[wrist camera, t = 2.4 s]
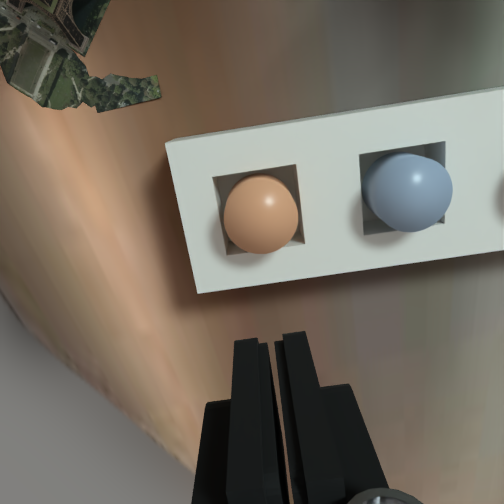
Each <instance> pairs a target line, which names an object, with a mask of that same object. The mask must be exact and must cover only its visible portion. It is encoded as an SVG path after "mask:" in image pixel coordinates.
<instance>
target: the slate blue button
mask: <svg viewBox="0 0 504 504" xmlns="http://www.w3.org/2000/svg"><path fill="white" fill-rule="evenodd" d="M452 193H453V186H452V181H451V178H450V175H449V173H448V172H447V170H446V169H445V168H444V167H443V166H442V165H441V164H440V163H438V162H436V161H434V160H432V159H429V158H425V157H422V156H418V155H414V154H411V153H407V152H392V153H388V154H386V155H384V156H382V157H380V158H378V159H377V160H376V161H375V162H374V163H373V164H372V165H371V166H370V167H369V168H368V170H367V172H366V173H365V176H364V178H363V182H362V196H363V200H364V202H365V204H366V206H367V207H368V208H369V210H371V211H372V212H373V213H374V214H375V215H376V216H378V217H379V218H380V219H381V220H382V221H384V222H385V223H386V224H387V225H388V226H390V227H391V228H393V229H395V230H398V231H401V232H417V231H421V230H424V229H426V228H429V227H430V226H432V225H434V224H435V223H436V222H437V221H439V220H440V219H441V218H442V216H443V215H444V214H445V212H446V211H447V209H448V207H449V205H450V202H451V199H452Z"/></svg>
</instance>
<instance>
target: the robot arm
mask: <svg viewBox="0 0 504 504" xmlns="http://www.w3.org/2000/svg"><path fill="white" fill-rule="evenodd" d="M282 335H283V340H281V341H274V344H275V352H276V361H277V369H278V378H279V386H280V395H281V403H282V412H283V421H284V429H285V438H286V446H287V455H288V463H289V472H290V479H291V486H292V493H293V500H294V504H423V503H421V502H420V501H419V500H417V499H416V498H415V497H413V496H411V495H409V494H407V493H404V492H402V491H399V490H395V489H389V486H388V484H387V481H386V478H385V476H384V473H383V470H382V468H381V465H380V462H379V460H378V457H377V454H376V452H375V449H374V447H373V444H372V441H371V439H370V436H369V433H368V431H367V428H366V425H365V423H364V420H363V417H362V415H361V412H360V409H359V407H358V404H357V401H356V399H355V396H354V393H353V391H352V388H351V386H350V385H349V384H341V385H334V386H326V387H320V385H319V382H318V378H317V374H316V370H315V366H314V363H313V359H312V355H311V351H310V347H309V344H308V340H307V336H306V332H305V331H301V332H294V333H287V334H282ZM191 504H290V502H289V493H288V483H287V474H286V465H285V455H284V446H283V439H282V432H281V425H280V419H279V413H278V407H277V400H276V394H275V388H274V382H273V375H272V369H271V363H270V357H269V350H268V345H267V343H260V344H259V342H258V338H251V339H243V340H236V341H234V356H233V374H232V391H231V399H228V400H220V401H213V402H207V404H206V407H205V412H204V419H203V426H202V433H201V440H200V447H199V454H198V461H197V468H196V475H195V482H194V489H193V496H192V503H191Z"/></svg>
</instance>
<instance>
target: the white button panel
mask: <svg viewBox="0 0 504 504" xmlns="http://www.w3.org/2000/svg"><path fill="white" fill-rule="evenodd" d="M165 146H166V151H167V155H168V160H169V164H170V169H171V174H172V178H173V183H174V187H175V192H176V197H177V201H178V206H179V210H180V215H181V220H182V224H183V229H184V233H185V238H186V242H187V247H188V252H189V256H190V261H191V265H192V270H193V275H194V279H195V284H196V288H197V293H198V294H199V293H206V292H213V291H220V290H227V289H234V288H241V287H248V286H255V285H262V284H269V283H276V282H283V281H290V280H297V279H304V278H311V277H318V276H325V275H332V274H339V273H346V272H353V271H360V270H367V269H374V268H381V267H388V266H395V265H402V264H409V263H416V262H423V261H430V260H437V259H444V258H451V257H458V256H465V255H472V254H479V253H486V252H493V251H500V250H504V86H503V87H496V88H490V89H484V90H477V91H471V92H465V93H459V94H452V95H446V96H440V97H433V98H427V99H421V100H415V101H408V102H402V103H396V104H389V105H383V106H377V107H371V108H364V109H358V110H352V111H345V112H339V113H333V114H327V115H320V116H314V117H308V118H301V119H295V120H289V121H283V122H276V123H270V124H264V125H257V126H251V127H245V128H239V129H232V130H226V131H220V132H213V133H207V134H201V135H195V136H188V137H182V138H176V139H174V140H171V141H169V142H166V143H165ZM392 152H407V153H411V154H414V155H418V156H422V157H425V158H429V159H432V160H434V161H436V162H438V163H440V164H441V165H442V166H443V167H444V168H445V169H446V170H447V172H448V173H449V175H450V178H451V181H452V186H453V193H452V199H451V202H450V205H449V207H448V209H447V211H446V212H445V214H444V215H443V216H442V218H441V219H440V220H439V221H437V222H436V223H435V224H434V225H432V226H430V227H429V228H426V229H424V230H421V231H417V232H401V231H398V230H395V229H393V228H391V227H390V226H388V225H387V224H386V223H385V222H384V221H382V220H381V219H380V218H379V217H378V216H376V215H375V214H374V213H373V212H372V211H371V210H369V208H368V207H367V206H366V204H365V202H364V200H363V196H362V182H363V178H364V176H365V173H366V172H367V170H368V168H369V167H370V166H371V165H372V164H373V163H374V162H375V161H376V160H377V159H378V158H380V157H382V156H384V155H386V154H388V153H392ZM255 173H264V174H269V175H272V176H274V177H276V178H278V179H279V180H281V181H282V182H283V183H284V184H285V185H286V187H287V188H288V190H289V192H290V194H291V196H292V198H293V200H294V202H295V204H296V206H297V210H298V225H297V229H296V231H295V233H294V235H293V237H292V238H291V240H290V241H289V242H288V243H287V244H286V245H285V246H284V247H282V248H281V249H279V250H277V251H274V252H271V253H267V254H254V253H250V252H247V251H245V250H243V249H241V248H239V247H238V246H237V245H235V244H234V243H233V242H232V240H231V239H230V238H229V236H228V234H227V232H226V229H225V226H224V211H225V206H226V202H227V198H228V194H229V192H230V190H231V189H232V187H233V186H234V185H235V183H237V182H238V181H239V180H240V179H242V178H243V177H245V176H248V175H250V174H255Z"/></svg>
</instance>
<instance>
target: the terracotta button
mask: <svg viewBox="0 0 504 504" xmlns="http://www.w3.org/2000/svg"><path fill="white" fill-rule="evenodd" d="M297 225H298V210H297V206H296V204H295V202H294V200H293V198H292V196H291V194H290V192H289V190H288V188H287V187H286V185H285V184H284V183H283V182H282V181H281V180H279V179H278V178H276V177H274V176H272V175H269V174H264V173H255V174H250V175H248V176H245V177H243V178H242V179H240V180H239V181H238V182H237V183H235V185H234V186H233V187H232V189H231V190H230V192H229V194H228V198H227V202H226V206H225V211H224V226H225V229H226V232H227V234H228V236H229V238H230V239H231V240H232V242H233V243H234V244H235V245H237V246H238V247H239V248H241V249H243V250H245V251H247V252H250V253H254V254H267V253H271V252H274V251H277V250H279V249H281V248H282V247H284V246H285V245H286V244H287V243H288V242H289V241H290V240H291V238H292V237H293V235H294V233H295V231H296V229H297Z"/></svg>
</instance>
